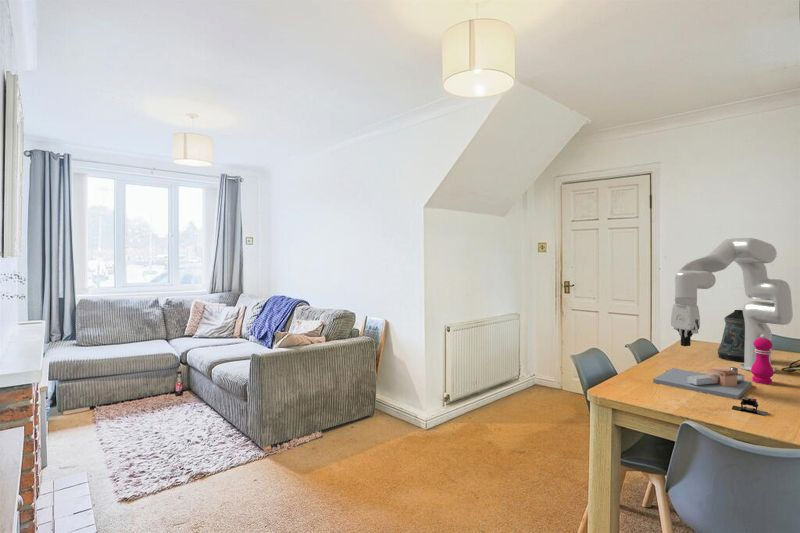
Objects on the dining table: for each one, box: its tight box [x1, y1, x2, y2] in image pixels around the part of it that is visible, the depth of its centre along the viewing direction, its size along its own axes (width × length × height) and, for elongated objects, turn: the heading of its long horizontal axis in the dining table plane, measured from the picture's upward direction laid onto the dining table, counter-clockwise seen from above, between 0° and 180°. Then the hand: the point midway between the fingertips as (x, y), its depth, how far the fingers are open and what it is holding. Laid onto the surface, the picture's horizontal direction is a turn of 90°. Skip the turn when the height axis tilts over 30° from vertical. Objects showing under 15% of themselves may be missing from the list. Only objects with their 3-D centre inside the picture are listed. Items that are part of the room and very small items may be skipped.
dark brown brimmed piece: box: [731, 396, 769, 417], centre depth 146 cm, size 12×7×5 cm, turn 46°
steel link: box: [687, 366, 746, 385], centre depth 172 cm, size 24×6×5 cm, turn 104°
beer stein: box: [717, 309, 745, 364], centre depth 219 cm, size 16×19×25 cm
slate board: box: [652, 367, 753, 400], centre depth 176 cm, size 26×28×2 cm
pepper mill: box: [750, 334, 775, 385], centre depth 179 cm, size 7×7×20 cm
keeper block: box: [707, 366, 737, 386], centre depth 172 cm, size 6×7×7 cm
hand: (685, 345), depth 178 cm, fingers closed
